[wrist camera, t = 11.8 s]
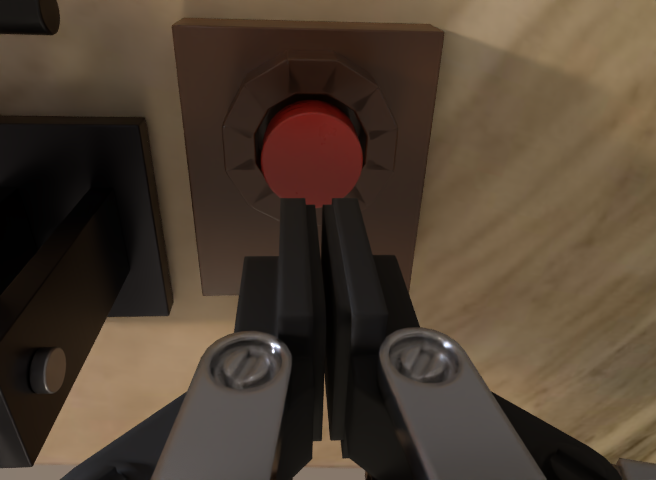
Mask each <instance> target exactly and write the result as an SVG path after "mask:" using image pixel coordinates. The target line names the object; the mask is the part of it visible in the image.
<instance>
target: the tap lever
mask: <svg viewBox="0 0 656 480" xmlns="http://www.w3.org/2000/svg"><path fill="white" fill-rule="evenodd" d="M59 25H60V14H59V8H58V3H57V0H0V34H24V35H54V34H56V33H57V32H58V29H59Z"/></svg>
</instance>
